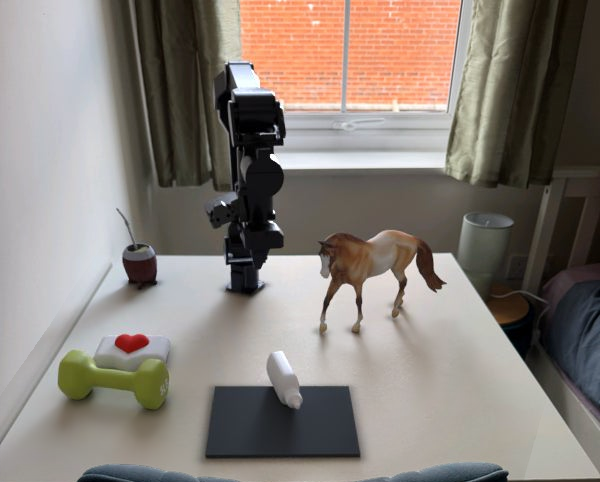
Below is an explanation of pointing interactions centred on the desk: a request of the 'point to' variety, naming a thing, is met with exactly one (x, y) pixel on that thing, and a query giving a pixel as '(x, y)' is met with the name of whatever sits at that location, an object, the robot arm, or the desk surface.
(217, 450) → the mat
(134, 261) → the mate gourd
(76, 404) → the desk surface
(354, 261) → the horse figurine
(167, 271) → the desk surface
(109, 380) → the dumbbell
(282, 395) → the eye dropper bottle
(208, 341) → the desk surface
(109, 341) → the icon
